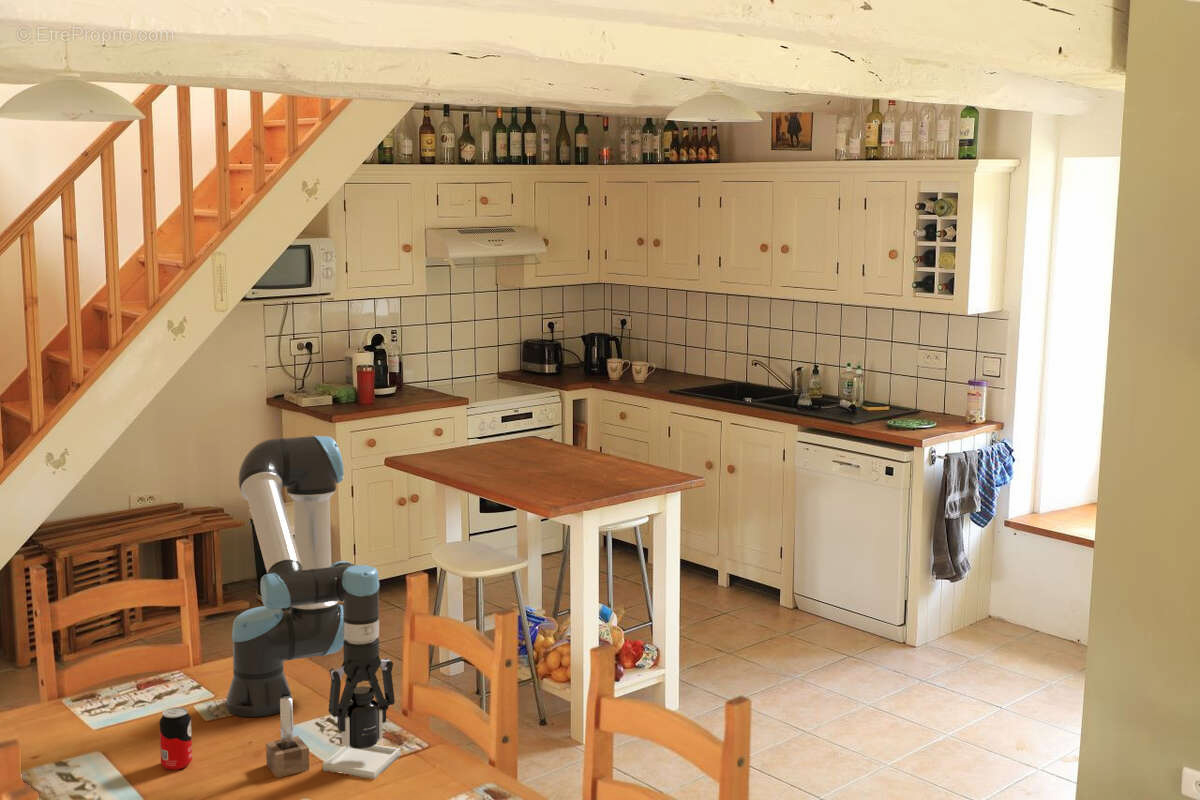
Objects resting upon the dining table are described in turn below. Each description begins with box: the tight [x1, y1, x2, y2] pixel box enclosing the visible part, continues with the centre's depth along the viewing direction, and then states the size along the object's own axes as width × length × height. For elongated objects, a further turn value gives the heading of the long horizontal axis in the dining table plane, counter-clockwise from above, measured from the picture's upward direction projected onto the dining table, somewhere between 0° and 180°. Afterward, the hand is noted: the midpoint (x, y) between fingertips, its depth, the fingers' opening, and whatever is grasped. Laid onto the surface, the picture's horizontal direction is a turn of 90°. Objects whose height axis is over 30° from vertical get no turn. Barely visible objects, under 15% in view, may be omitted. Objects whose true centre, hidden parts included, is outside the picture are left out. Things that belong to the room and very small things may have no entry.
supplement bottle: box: [346, 685, 379, 749], centre depth 257 cm, size 7×7×12 cm
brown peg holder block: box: [265, 735, 310, 778], centre depth 256 cm, size 7×7×5 cm
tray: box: [322, 744, 401, 780], centre depth 259 cm, size 12×12×2 cm
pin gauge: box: [279, 696, 295, 750], centre depth 255 cm, size 3×3×14 cm
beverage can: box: [159, 706, 193, 771], centre depth 255 cm, size 6×6×12 cm
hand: (362, 740), depth 258 cm, fingers closed on supplement bottle, 7 cm apart
